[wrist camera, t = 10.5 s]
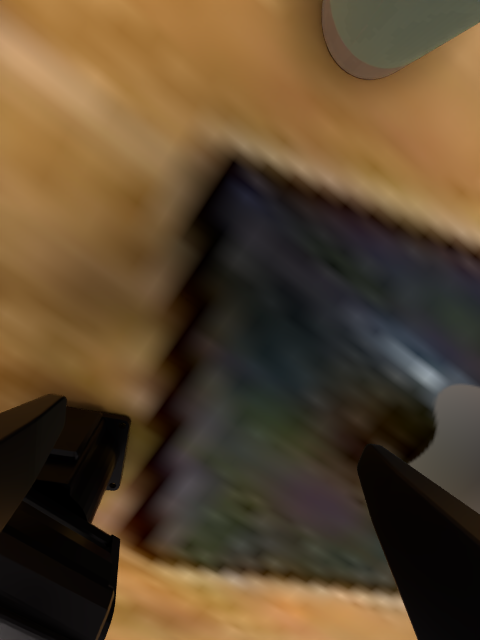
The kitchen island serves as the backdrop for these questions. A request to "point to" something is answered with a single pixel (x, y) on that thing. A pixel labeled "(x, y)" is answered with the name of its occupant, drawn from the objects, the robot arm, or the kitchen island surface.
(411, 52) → the coffee cup
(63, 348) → the kitchen island surface
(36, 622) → the robot arm
